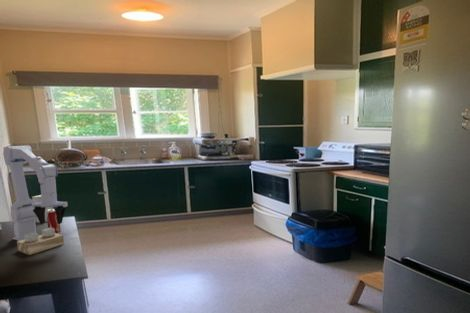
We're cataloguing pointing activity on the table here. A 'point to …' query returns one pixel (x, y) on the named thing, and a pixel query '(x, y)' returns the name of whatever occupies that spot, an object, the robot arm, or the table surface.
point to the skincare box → (38, 199)
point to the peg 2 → (48, 232)
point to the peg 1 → (31, 237)
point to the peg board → (40, 244)
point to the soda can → (53, 220)
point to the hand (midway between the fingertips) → (51, 223)
